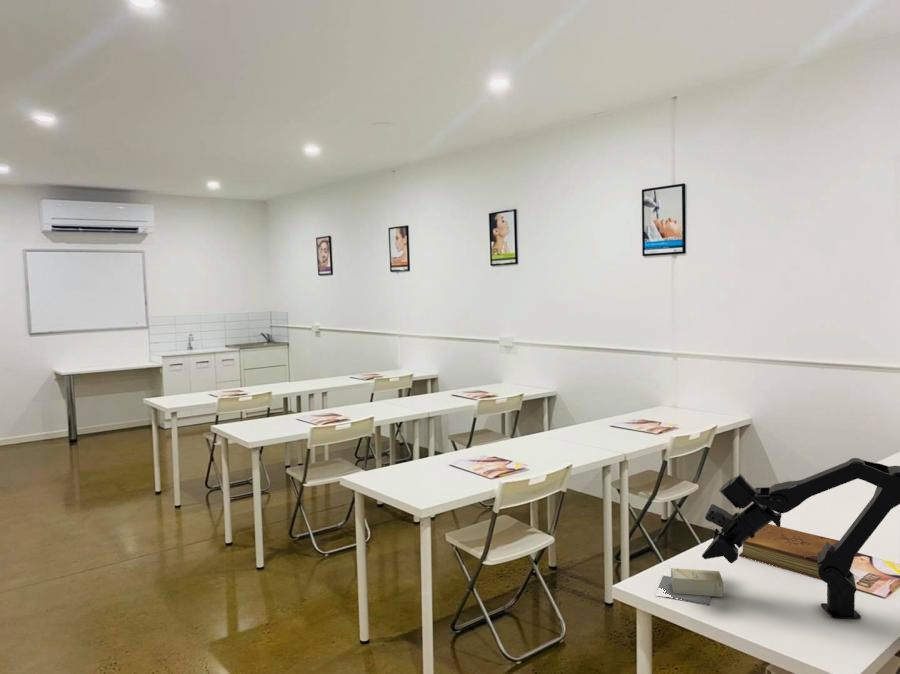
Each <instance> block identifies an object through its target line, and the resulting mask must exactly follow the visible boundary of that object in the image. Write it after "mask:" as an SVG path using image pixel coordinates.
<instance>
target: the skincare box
mask: <svg viewBox="0 0 900 674" xmlns="http://www.w3.org/2000/svg"><path fill="white" fill-rule="evenodd" d="M670 577H671V585H672V589H673V593H674V594H689V595H703V596H711V597H719V598H722V597H724V580H723V578H722V574H721V572H720V571H719V570H705V569H691V568H690V569H688V568H670Z"/></svg>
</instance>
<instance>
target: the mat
mask: <svg viewBox="0 0 900 674" xmlns="http://www.w3.org/2000/svg"><path fill="white" fill-rule="evenodd" d="M658 588H661V589H662V588H663V590H664V589H665V590H666V592H665V594H666V593H667V594H669V595H671V597H673V598H678V599H682V600H686V601H685V602H688V601H690V602H689V603H694V602H696V604H699V603H702V604H701V605H705V604H707V605H706V606H710V605H711V601H710V600H711V599H712V596H703V595H689V594H674V593H673V589H672V585H671V576H667V575H662V577H661V580H660V582H659V585H658ZM658 588H657V589H658ZM665 590H664V591H665ZM663 593H664V592H663ZM682 600H681V601H682Z"/></svg>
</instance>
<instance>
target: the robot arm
mask: <svg viewBox="0 0 900 674" xmlns="http://www.w3.org/2000/svg"><path fill="white" fill-rule="evenodd" d="M855 480H860V481H864V482H866V483H868V484H872V485H873V486H876V488H875V491H874V493H873V496H872V497H871V499H870V500H869V502H868V503H866V505H865V506H864V508H863V509H862V510H861V512H860V513H859V515H858V516H857V517H856V518H855V520H854V521H853V522H852V523H851V525H850V526H849V528H848V529H847V530H846V531H845V532H844V534H843V535H842V536H841V538H840V539H839V541H838V542H837V543H835V544H834V545H831V544H829V543H828V542H826V544H825V546H824V548H823V549H822V550H821V551H820V552H818V553H817V555H818V560H817V564H818V573H819V576H820V578H821V579H822V581H823V582H824V583H826V585H827V586H826V603H825V602H822V603H820V607H822V609H824V610H825V611H826V612H827V614H828V615H829V616H830V617H831V618H833V619H862V615H861V614H860V613H858V612H857V611H856V609H855V606H856V605H855V604H856V603H855V601H856V600H855V599H856V596H855V595H856V592H857V589H858V588H857V584H856V581H855V580H856V579H855V575H854V573H853V572H852V571H851V569H852V566H853V562H854V559H855V556H856V555H857V554H858V553H859V551H860V550H861V549H862V547H863V546H864V544H865V543H866V542H867V541H868V540H869V539H870V537H871V536H872V534H873V533H874V532H875V530H876V529H878V526H880V524H881V523H882V521H883V520H884V519H885V518H886V516H888V514H889V513H890V511H892V510H893V509H895V508H896V507H898V506H899V505H900V465H892V466H891V465H886V464H883V463H879V462H873V461H868V460H865V459H860V458H859V457H858V458H857V457H853V458H850V459H849V460H847V461H845V462H843V463H839V464H838V465H835V466H832V467H830V468H827V469H825V470H822V471H821V472H818V473H817V472H816V473H815V474H813V475H811V476H808V477H805V478H802V479H798V480H790V481H789V480H788V481H783V482H779V483H774V484H772V485H771V486H769V487H768V486H767V487H766V486H765V487H764V486H763V487H755V488H754V487H753V486H752V485H751V484H750V483H749V482H748V481H747V480H746V478H745V477H744V476H743V475H742V474H741V473H740V474H738V475H737V476H734V477H733V478H731V479H729V480H727V481H726V482H725V483H724V484H723V485H722V486H721V487H720V488H719V490H718V492H720V494H721V495H723V497H725V499H726V500H727V501H728V502H730V503H731V505H732V506H734V508H735V509H739V510H741V509H743V510H742V511H741V512H739V511H738V512H737V511H736V512H735V513H733V514H732V513H730V512H728V510H725V509H723V508H721V507H719V506H718V505H716V504H714V503H711V504H710V506H709V508H708V510H707V511H706V513H705V517H704V519H705V520H706V521H708V522H709V523H713V524H714V525H716V526H718V527H721V528H720V529H718V528H714V529H715V530H714V534H713V535H712V536H713V537H712V539H713V540H712V541H711V543H710V544H709V545H708V547H706V549H705V550H704V552H703V553H702V555H701V557H702V558H703V560H709V559H715V558H721V557H722V558H723V557H724V558H725V560H726V561H728V563H730V564H733V563H735V562H736V561H737V560H738V559H739V558H738V557H739V549H740V548H741V547H743V542H745V541H746V540H747V539H749V538H750V537H751V538H753V537H755V533H756V532H758V531H759V530H760V529H762V528H763V527H764V526H766V525H767V524H770V523H771V522H773V524H774V525H776V526H778V527H782V526H781V519H782V514H787V513H789V512H790V511H792V510H794V509H795V508H797V507H798V506H800V505H801V504H802V503H804V502H805V501H806V500H807V499H810V498H811V497H814V496H816V495H818V494H821V493H823V492H827V491H828V490H831V489H835V488H836V487H840V486H843V485H844V484H847V483H850V482H852V481H855ZM821 579H820V580H821Z"/></svg>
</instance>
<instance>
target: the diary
mask: <svg viewBox="0 0 900 674" xmlns="http://www.w3.org/2000/svg"><path fill="white" fill-rule="evenodd" d="M838 541H840V539H839V540H837V539H834V538H829V537H825V536H821V535H816V534H813V533H808V532H804V531H800V530H796V529H792V528H789V527H788V528H787V527H783V526H780V527H778V526H777V525H776V524H773V523H772V524H770V523H768V524H767V525H766V526H764V527H763V528H762V529H760V530H759V531H758V532H756V533H755V537H753V538H751V537H750V538H749V539H747V540H746V541H745V542H743V545H742V552H741V553H740V554H738V557H741V558H744V557H745V558H744V559H749V560H751V559H752V560H751V561H755V560H756V561H755V562H758V561H759V563H762V562H763V563H762V564H765V563H766V565H769V564H770V565H769V566H772V565H773V566H772V567H776V566H777V567H776V568H779V567H780V569H783V570H787V571H789V572H790V571H791V572H793V573H798V574H800V573H801V574H800V575H805V576H807V577H812V578H814V579H819V580H821V578H820V576H819V573H818V564H817V560H818V555H817V553H818V552H820V551H821V550H822V549H823V548H824V546H825V544H826V542H828V543H829V544H831V545H834V544H835V543H837V542H838Z"/></svg>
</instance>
